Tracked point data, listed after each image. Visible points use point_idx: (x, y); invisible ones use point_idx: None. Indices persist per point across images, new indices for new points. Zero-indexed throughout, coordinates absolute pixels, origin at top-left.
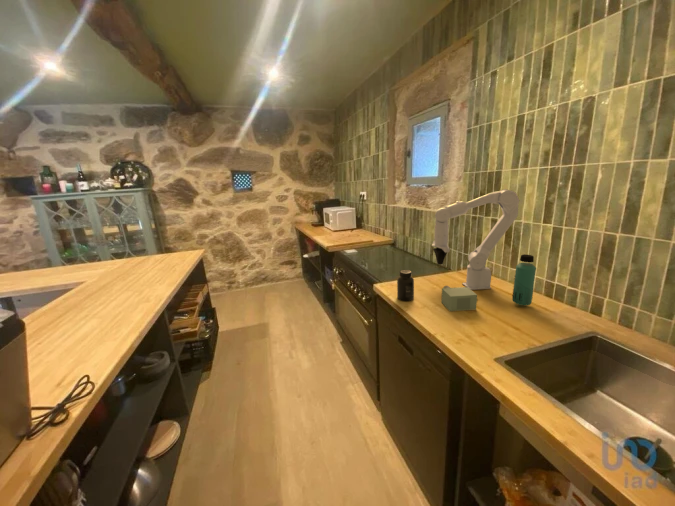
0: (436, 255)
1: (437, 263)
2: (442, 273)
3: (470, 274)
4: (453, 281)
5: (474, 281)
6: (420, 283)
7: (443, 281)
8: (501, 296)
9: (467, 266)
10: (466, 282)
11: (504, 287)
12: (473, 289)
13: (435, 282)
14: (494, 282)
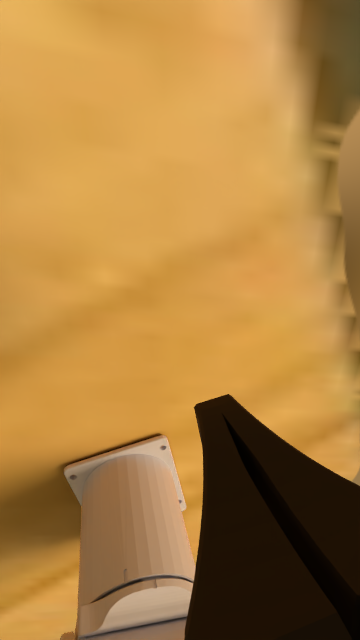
0: (271, 483)
1: (222, 396)
2: (346, 347)
3: (98, 550)
4: (206, 394)
5: (81, 524)
6: (164, 164)
7: (207, 342)
8: (5, 563)
9: (149, 588)
10: (128, 468)
11: None
12: (68, 479)
13: (189, 290)
14: (189, 539)
